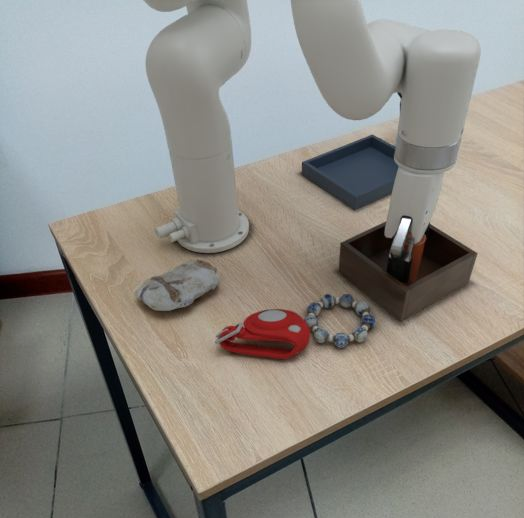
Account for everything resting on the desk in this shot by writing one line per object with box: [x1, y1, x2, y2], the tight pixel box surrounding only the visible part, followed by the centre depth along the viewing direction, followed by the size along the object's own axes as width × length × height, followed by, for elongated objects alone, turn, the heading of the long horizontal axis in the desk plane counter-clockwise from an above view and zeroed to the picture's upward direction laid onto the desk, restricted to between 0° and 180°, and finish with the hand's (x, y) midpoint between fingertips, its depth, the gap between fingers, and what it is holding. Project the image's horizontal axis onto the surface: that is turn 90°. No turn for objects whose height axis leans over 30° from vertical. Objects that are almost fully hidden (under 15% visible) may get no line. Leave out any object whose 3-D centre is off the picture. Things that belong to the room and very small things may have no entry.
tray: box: [301, 133, 399, 211], centre depth 99 cm, size 18×16×2 cm
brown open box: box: [338, 220, 478, 322], centre depth 78 cm, size 14×14×6 cm
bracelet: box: [303, 293, 376, 349], centre depth 73 cm, size 10×10×2 cm
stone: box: [135, 258, 220, 312], centre depth 79 cm, size 12×9×3 cm
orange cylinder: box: [393, 233, 426, 284], centre depth 77 cm, size 4×4×7 cm
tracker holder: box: [214, 308, 311, 360], centre depth 71 cm, size 12×4×10 cm
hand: (406, 260), depth 78 cm, fingers open, 8 cm apart
